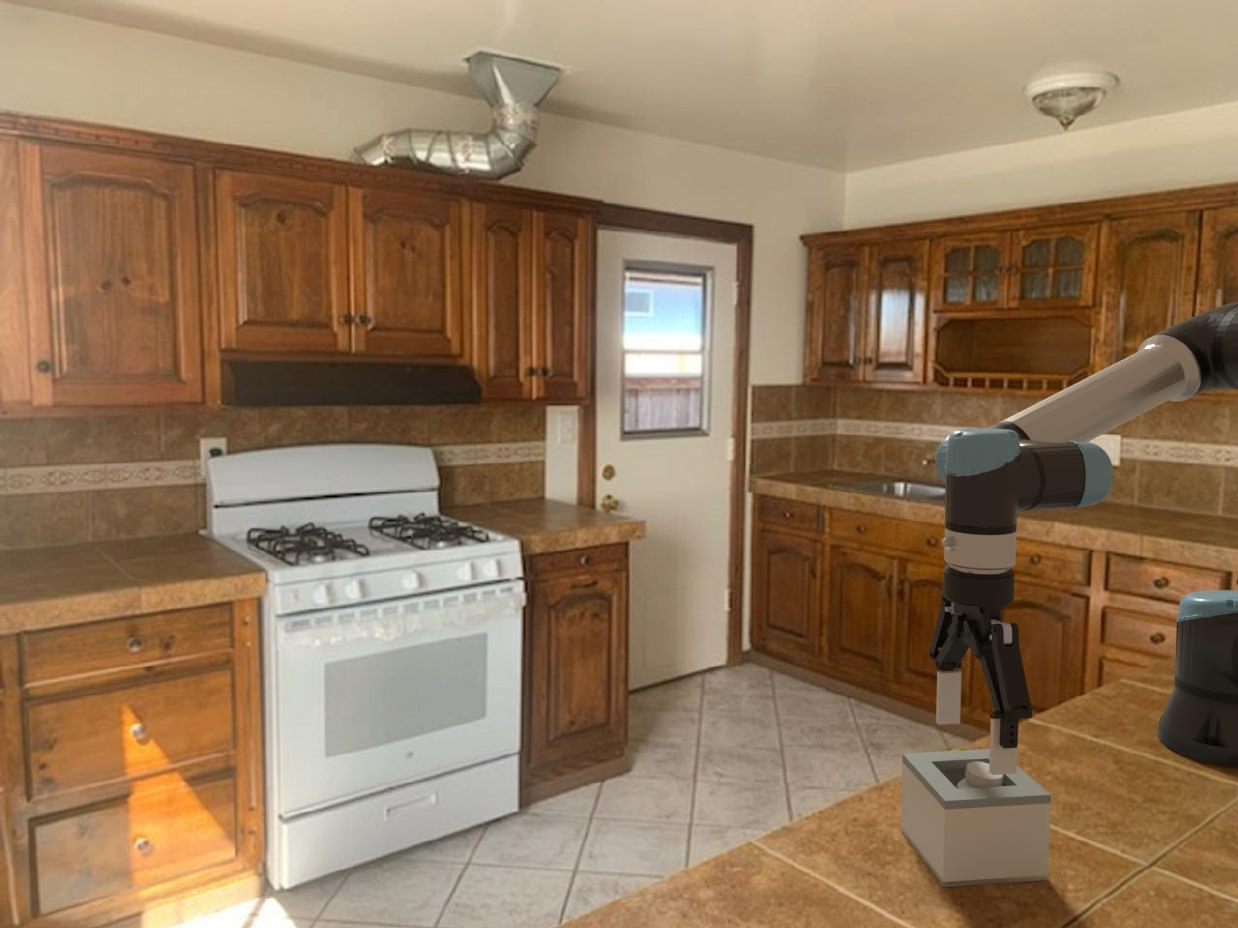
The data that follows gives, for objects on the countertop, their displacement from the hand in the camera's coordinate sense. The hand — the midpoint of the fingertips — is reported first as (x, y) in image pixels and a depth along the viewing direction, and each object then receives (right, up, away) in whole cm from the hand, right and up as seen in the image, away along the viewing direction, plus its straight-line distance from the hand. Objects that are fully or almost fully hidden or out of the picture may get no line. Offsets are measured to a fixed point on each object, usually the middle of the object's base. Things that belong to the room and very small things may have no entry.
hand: (973, 746), depth 106 cm
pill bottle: (0, -12, +2) cm, 13 cm away
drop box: (0, -13, +2) cm, 13 cm away
